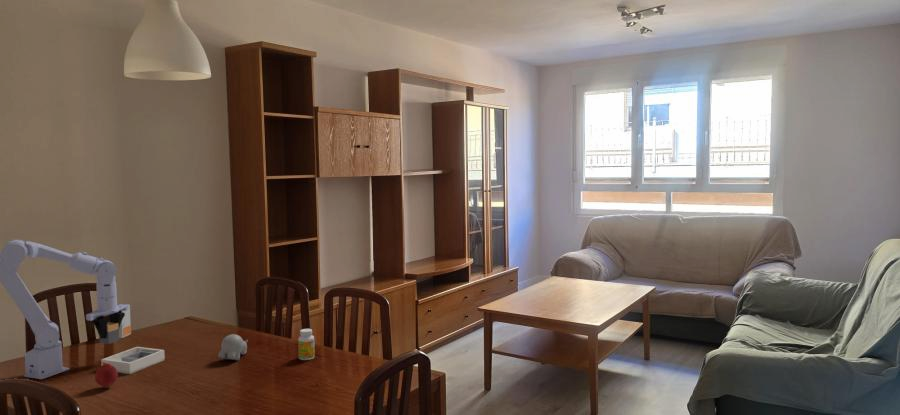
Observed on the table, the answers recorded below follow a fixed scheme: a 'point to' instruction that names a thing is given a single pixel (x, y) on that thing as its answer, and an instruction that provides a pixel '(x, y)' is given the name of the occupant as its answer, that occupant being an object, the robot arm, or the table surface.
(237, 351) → the chubby cartoon animal
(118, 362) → the walled box
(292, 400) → the table surface
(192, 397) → the table surface
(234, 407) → the table surface
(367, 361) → the table surface
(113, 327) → the block
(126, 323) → the skincare box
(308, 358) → the supplement bottle
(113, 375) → the onion
